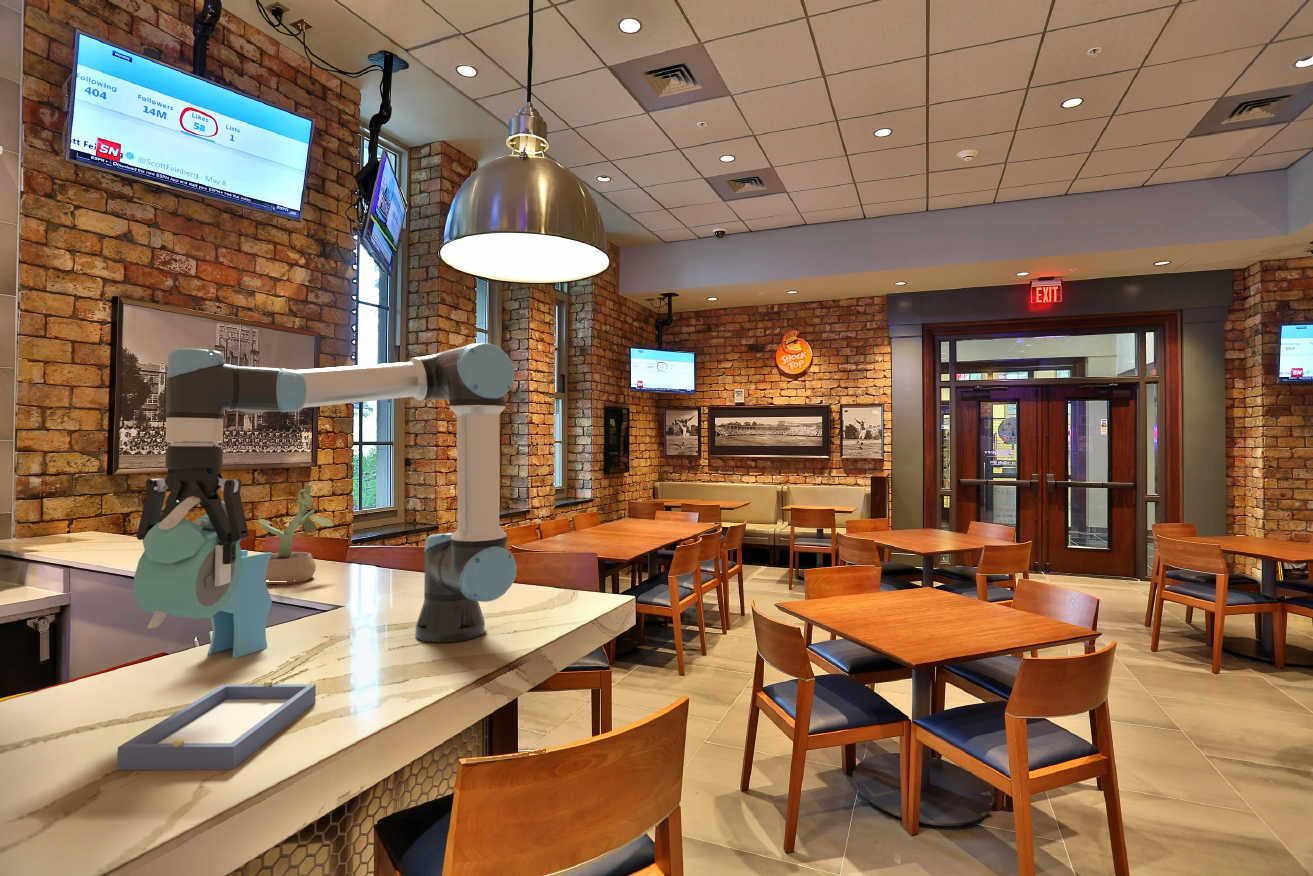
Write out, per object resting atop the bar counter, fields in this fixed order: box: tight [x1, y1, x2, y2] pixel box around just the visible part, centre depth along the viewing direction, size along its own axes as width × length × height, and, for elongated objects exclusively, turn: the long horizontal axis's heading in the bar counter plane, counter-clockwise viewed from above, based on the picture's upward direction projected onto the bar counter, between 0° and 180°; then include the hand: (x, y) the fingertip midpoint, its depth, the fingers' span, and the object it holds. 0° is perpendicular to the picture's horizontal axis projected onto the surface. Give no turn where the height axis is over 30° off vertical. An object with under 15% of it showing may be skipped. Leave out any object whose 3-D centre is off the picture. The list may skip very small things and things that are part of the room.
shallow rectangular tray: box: [116, 680, 317, 771], centre depth 95 cm, size 15×22×4 cm
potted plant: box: [257, 484, 336, 585], centre depth 199 cm, size 22×18×30 cm
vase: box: [207, 549, 273, 659], centre depth 133 cm, size 8×8×20 cm
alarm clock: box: [133, 496, 242, 629], centre depth 103 cm, size 17×10×20 cm, turn 3°
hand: (192, 583), depth 103 cm, fingers closed on alarm clock, 9 cm apart
